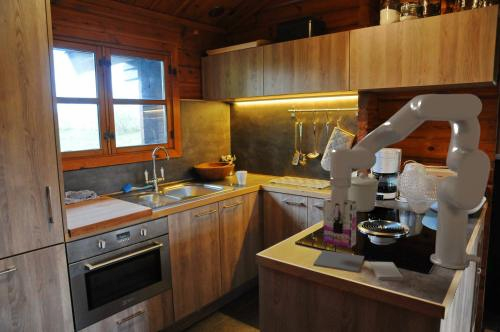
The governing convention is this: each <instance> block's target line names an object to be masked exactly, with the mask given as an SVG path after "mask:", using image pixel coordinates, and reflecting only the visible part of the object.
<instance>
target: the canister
mask: <svg viewBox="0 0 500 332" xmlns="http://www.w3.org/2000/svg"><path fill="white" fill-rule="evenodd" d="M379 184H380V181H379V180H378V179H377V178H374V177H372V176H371V177H370V176H366V173H365V172H360V173H359V174H358V176H352V178H351V187H350V188H348V200H351V201H357V212H360V213H365V212H367V213H368V212H371V211H373V210H374V209H375V207H376V201H377V194H378V187H379V186H378V185H379Z"/></svg>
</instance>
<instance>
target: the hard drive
mask: <svg viewBox="0 0 500 332" xmlns="http://www.w3.org/2000/svg"><path fill="white" fill-rule="evenodd" d="M369 265H370V266H371V269H372V271H373V273H374V274H375V277H376V279H377V280H379V281H405V278H404V276H403V274H401V272H400V271H399V268H398V267H397V266H396V265H395V263H394V262H393V261H370V262H369Z"/></svg>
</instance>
